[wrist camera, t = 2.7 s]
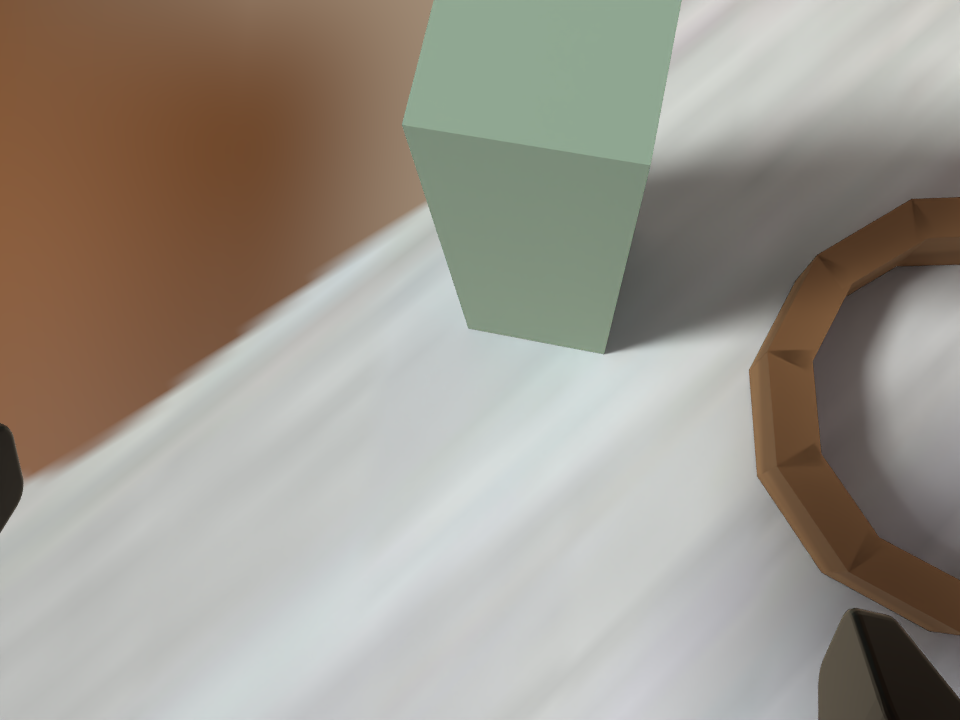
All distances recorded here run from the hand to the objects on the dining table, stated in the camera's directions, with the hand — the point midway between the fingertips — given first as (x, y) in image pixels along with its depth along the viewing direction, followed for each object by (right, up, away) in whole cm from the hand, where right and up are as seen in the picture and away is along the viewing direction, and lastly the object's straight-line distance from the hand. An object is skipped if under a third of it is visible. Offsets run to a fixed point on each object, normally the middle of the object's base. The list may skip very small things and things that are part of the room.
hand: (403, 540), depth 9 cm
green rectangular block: (+3, +4, +14) cm, 15 cm away
